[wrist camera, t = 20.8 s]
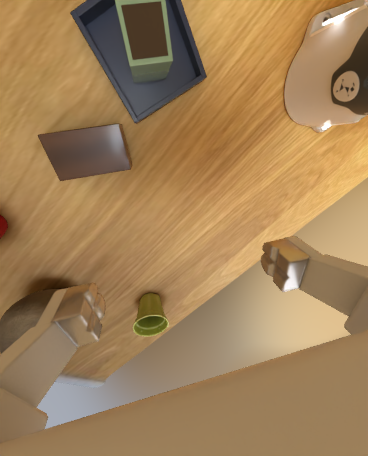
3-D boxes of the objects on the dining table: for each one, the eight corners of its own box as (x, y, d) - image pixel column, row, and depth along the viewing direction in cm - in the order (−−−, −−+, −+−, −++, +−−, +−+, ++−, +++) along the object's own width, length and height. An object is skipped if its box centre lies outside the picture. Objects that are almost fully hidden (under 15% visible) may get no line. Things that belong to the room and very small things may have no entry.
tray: (159, -35, 23) (161, -57, 20) (201, 81, 30) (206, 77, 27) (78, 25, 24) (69, 12, 22) (136, 123, 31) (135, 123, 29)
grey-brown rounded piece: (95, 283, 47) (76, 341, 34) (76, 315, 51) (53, 377, 38) (34, 267, 41) (-17, 329, 28) (18, 304, 45) (-31, 373, 33)
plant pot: (168, 303, 57) (172, 330, 49) (140, 312, 56) (139, 340, 49) (160, 284, 52) (163, 310, 44) (129, 294, 51) (127, 322, 44)
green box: (174, 109, 27) (172, 17, 17) (140, 114, 26) (119, 22, 17) (161, 63, 29) (153, -40, 20) (130, 67, 29) (106, -37, 19)
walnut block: (132, 165, 34) (130, 169, 31) (69, 175, 33) (59, 181, 30) (121, 124, 31) (118, 123, 27) (50, 134, 30) (36, 134, 26)
